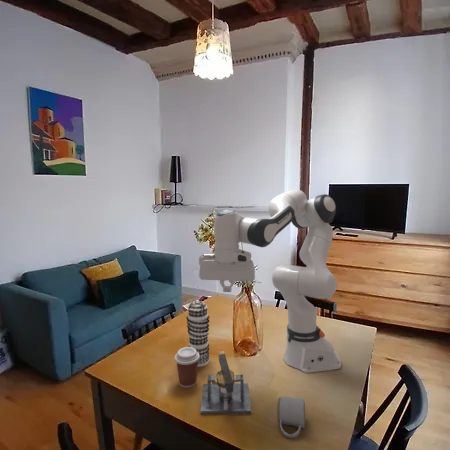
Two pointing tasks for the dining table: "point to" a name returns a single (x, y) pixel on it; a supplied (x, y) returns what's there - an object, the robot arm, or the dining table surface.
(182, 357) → the coffee cup
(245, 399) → the post base
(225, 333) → the dining table surface
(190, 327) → the grey ridged column
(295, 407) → the ceramic mug
